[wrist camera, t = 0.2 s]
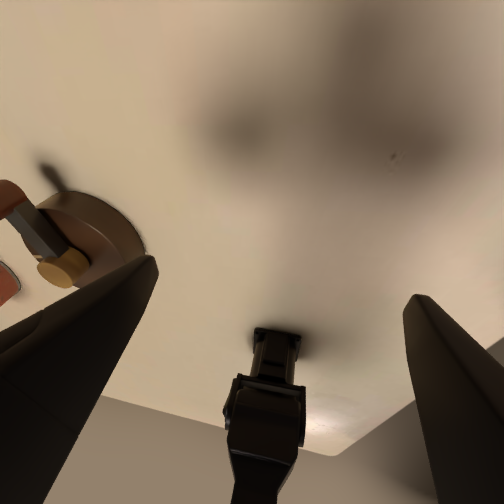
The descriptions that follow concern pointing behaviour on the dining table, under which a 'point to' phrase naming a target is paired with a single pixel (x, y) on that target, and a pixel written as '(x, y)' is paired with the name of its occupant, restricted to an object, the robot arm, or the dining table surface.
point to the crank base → (90, 232)
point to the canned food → (7, 284)
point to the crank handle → (41, 238)
